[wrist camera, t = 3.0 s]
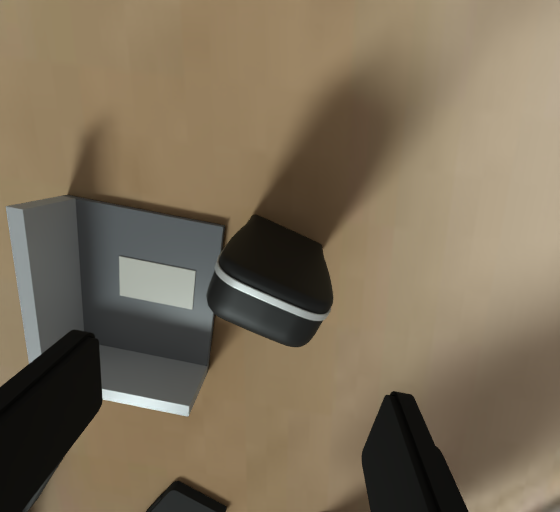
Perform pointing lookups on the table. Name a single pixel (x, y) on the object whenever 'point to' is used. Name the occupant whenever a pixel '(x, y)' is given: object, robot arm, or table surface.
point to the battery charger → (272, 283)
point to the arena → (120, 292)
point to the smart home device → (185, 501)
